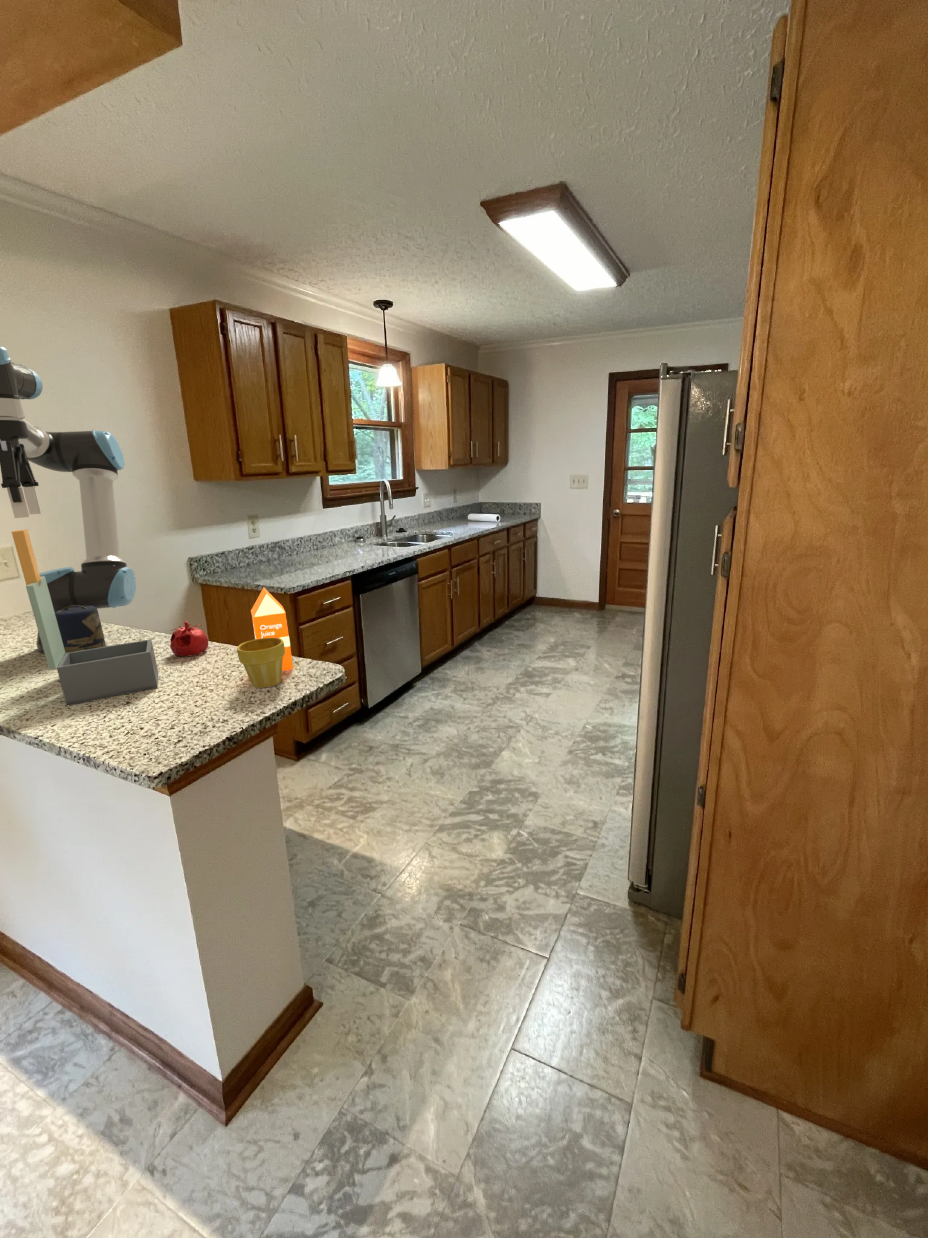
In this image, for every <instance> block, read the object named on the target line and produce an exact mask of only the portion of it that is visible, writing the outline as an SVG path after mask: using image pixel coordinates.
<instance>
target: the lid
mask: <svg viewBox="0 0 928 1238" xmlns="http://www.w3.org/2000/svg"><path fill="white" fill-rule="evenodd" d="M11 535H12V539H13V543H14V545H15V549H16V553H17V557H18V560H19V564H20V567H21V571H22V575H23V578H24V582H25V588H26V591H27V595H28V599H29V603H30V606H31V611H32V613H33V618H34V620H35V624H36V628H37V633H38V632H39V635H40V639H41V642H42V646H43V650H44V653H43V654H44V657H45V660H46V664H47V668H48V670H49V671H50V670H52V671H53V670H57V667H58V665H59V663H60V662H61V660H62V658H63V656H64V654H65V650H64V646H63V642H62V638H61V635H60V631H59V627H58V623H57V620H56V616H55V612H54V609H53V605H52V601H51V597H50V594H49V590H48V586H47V583H46V579H45V576H42V577H40V574H39V573H40V571H39V566H38V563H37V561H36V556H35V553H34V548H33V545H32V541H31V538H30V534H29V530H28V529H16V530H13V531H11Z"/></svg>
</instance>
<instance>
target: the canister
mask: <svg viewBox="0 0 928 1238" xmlns="http://www.w3.org/2000/svg"><path fill="white" fill-rule="evenodd" d="M70 607H71V608H70ZM98 610H99V609H97V608H96V607H94V606H80V605H71V606H68V607H66V608H64V609H62V610H59V611H57V612H55V616H56V620H57V623H58V627H59V631H60V635H61V638H62V642H63V646H64V650H65V653H69V652H75V651H81V650H87V649H94V648H100V647H106V646H107V644H106V638H105V634H104V630H103V626H102V623H101V618H100V615H99V611H98ZM64 655H65V654H64Z"/></svg>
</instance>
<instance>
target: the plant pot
mask: <svg viewBox="0 0 928 1238" xmlns="http://www.w3.org/2000/svg"><path fill="white" fill-rule="evenodd" d="M236 652H237V657H238V661H239V662H240V664H242V665H243V668H244V670H245V672H246V674H247V676H248V679H249V681H250V683H251V685H252V687H253V688H256V689H266V688H270V687H271V688H272V687H274V686H277V685H279V684H280V683H281V682H282V680H283V679H282V678H283V671H282V665H283V656H284V655H285V647H284V641H283V640H282V639H280V638H275V637H268V638H259V639H255V638H254V639H251V640H247V641H245V642H242V643H240V644H239V645H237V648H236Z"/></svg>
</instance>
